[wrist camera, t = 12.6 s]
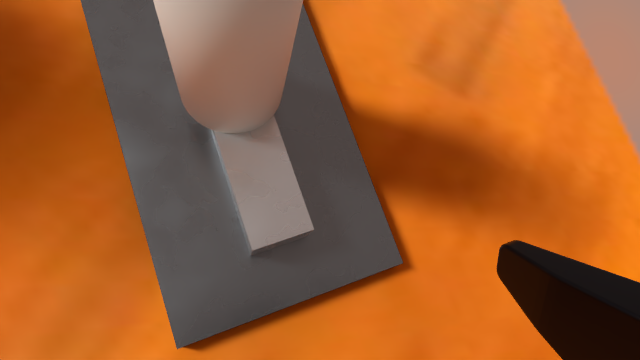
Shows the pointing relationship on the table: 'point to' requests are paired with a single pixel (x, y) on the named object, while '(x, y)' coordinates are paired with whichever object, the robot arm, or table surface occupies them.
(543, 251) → the robot arm
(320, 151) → the ridge plate
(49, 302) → the table surface
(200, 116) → the off-white dowel
